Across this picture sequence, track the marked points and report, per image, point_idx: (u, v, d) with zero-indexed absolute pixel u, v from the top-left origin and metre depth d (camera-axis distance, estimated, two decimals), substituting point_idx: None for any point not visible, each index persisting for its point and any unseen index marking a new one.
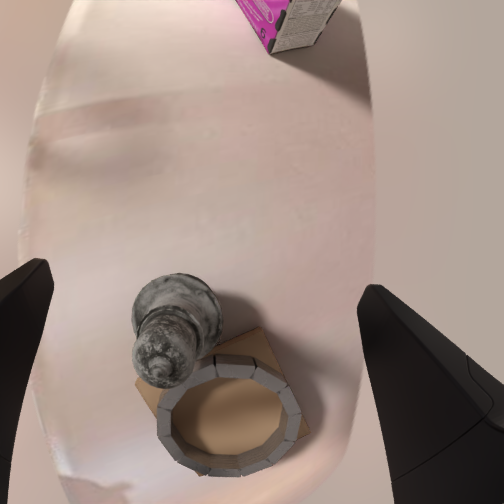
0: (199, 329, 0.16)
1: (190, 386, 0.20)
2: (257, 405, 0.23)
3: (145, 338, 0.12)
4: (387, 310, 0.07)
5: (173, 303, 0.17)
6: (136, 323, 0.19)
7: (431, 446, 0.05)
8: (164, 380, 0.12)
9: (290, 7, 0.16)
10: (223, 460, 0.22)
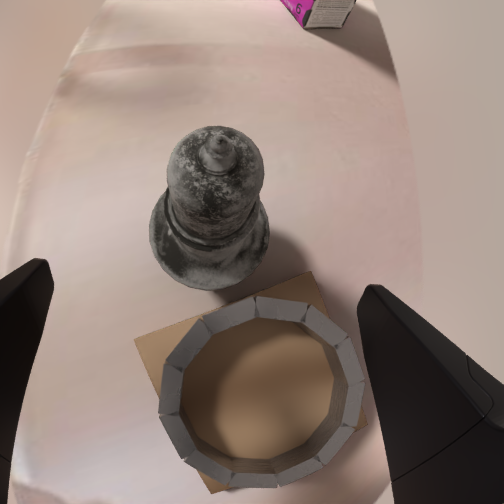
0: None
1: (217, 330, 0.15)
2: (302, 379, 0.17)
3: (197, 130, 0.08)
4: (387, 310, 0.07)
5: None
6: (155, 227, 0.15)
7: (431, 446, 0.05)
8: (219, 182, 0.08)
9: None
10: (251, 464, 0.15)
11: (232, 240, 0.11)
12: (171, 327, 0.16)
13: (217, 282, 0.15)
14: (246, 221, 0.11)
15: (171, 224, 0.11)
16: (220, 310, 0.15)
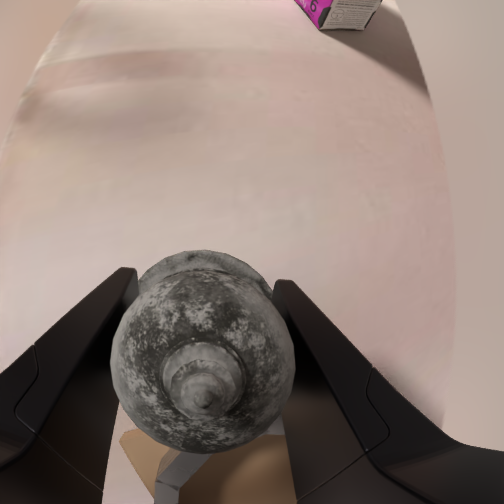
0: None
1: None
2: None
3: (158, 291, 0.04)
4: (285, 308, 0.07)
5: None
6: None
7: (321, 471, 0.05)
8: (209, 427, 0.04)
9: None
10: None
11: None
12: None
13: None
14: None
15: None
16: None
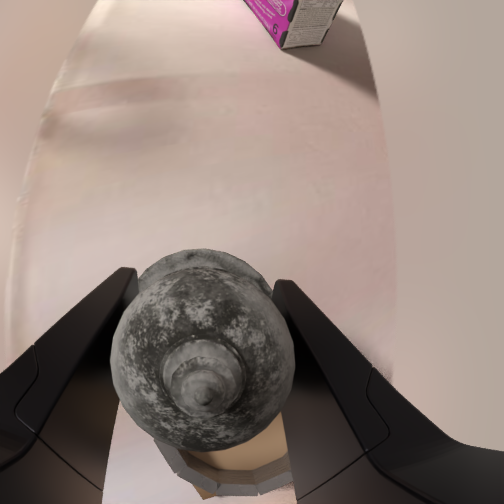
0: None
1: None
2: None
3: (158, 289, 0.04)
4: (285, 308, 0.07)
5: None
6: None
7: (321, 471, 0.05)
8: (209, 425, 0.04)
9: None
10: (235, 475, 0.17)
11: None
12: None
13: None
14: None
15: None
16: None
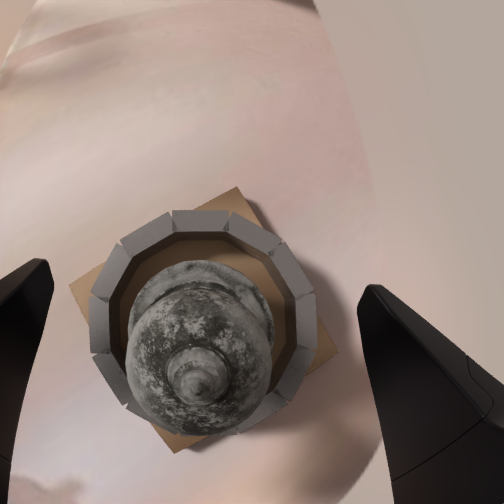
0: None
1: (136, 251, 0.14)
2: None
3: (163, 308, 0.05)
4: (387, 310, 0.07)
5: None
6: None
7: (431, 446, 0.05)
8: (203, 412, 0.05)
9: None
10: None
11: None
12: (101, 265, 0.15)
13: None
14: None
15: None
16: (137, 231, 0.14)
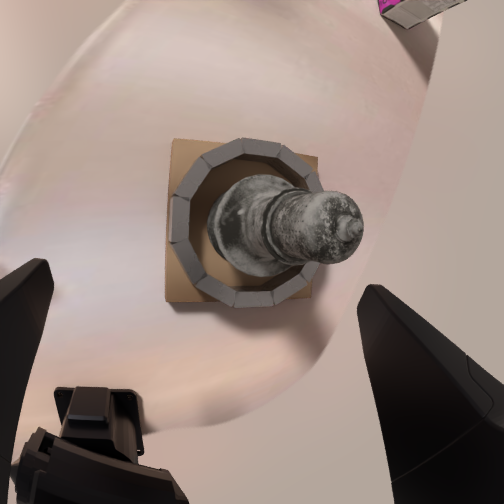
0: None
1: (248, 152, 0.19)
2: None
3: (340, 194, 0.11)
4: (387, 310, 0.07)
5: None
6: (229, 199, 0.17)
7: (431, 446, 0.05)
8: (336, 244, 0.11)
9: None
10: (216, 279, 0.20)
11: (295, 261, 0.14)
12: (207, 142, 0.20)
13: (248, 268, 0.18)
14: None
15: (264, 224, 0.14)
16: (256, 140, 0.19)
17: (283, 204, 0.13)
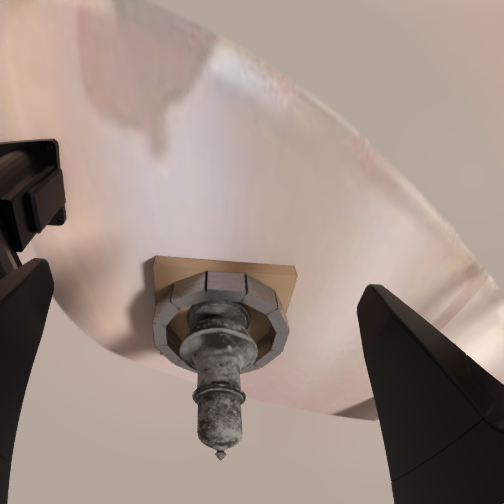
0: None
1: (277, 334, 0.24)
2: None
3: (239, 440, 0.17)
4: (387, 310, 0.07)
5: None
6: (239, 337, 0.22)
7: (431, 446, 0.05)
8: (210, 443, 0.17)
9: None
10: None
11: (195, 398, 0.19)
12: (290, 297, 0.25)
13: (186, 345, 0.22)
14: None
15: (220, 387, 0.19)
16: (286, 339, 0.25)
17: (234, 399, 0.19)
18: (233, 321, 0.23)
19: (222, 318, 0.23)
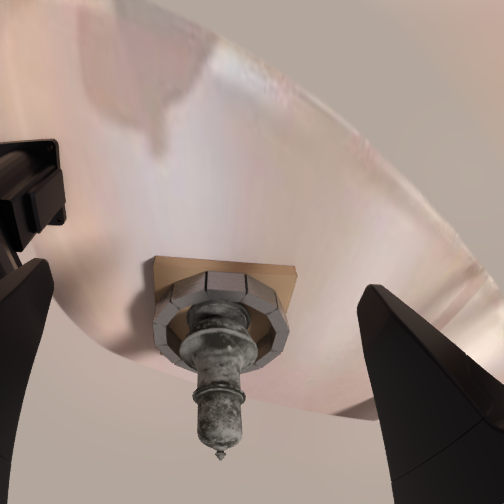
0: None
1: (277, 334, 0.24)
2: None
3: (239, 440, 0.17)
4: (387, 310, 0.07)
5: None
6: (239, 337, 0.22)
7: (431, 446, 0.05)
8: (210, 443, 0.17)
9: None
10: None
11: (195, 398, 0.19)
12: (290, 297, 0.25)
13: (186, 345, 0.22)
14: None
15: (220, 387, 0.19)
16: (286, 339, 0.25)
17: (234, 399, 0.19)
18: (233, 321, 0.23)
19: (222, 318, 0.23)
